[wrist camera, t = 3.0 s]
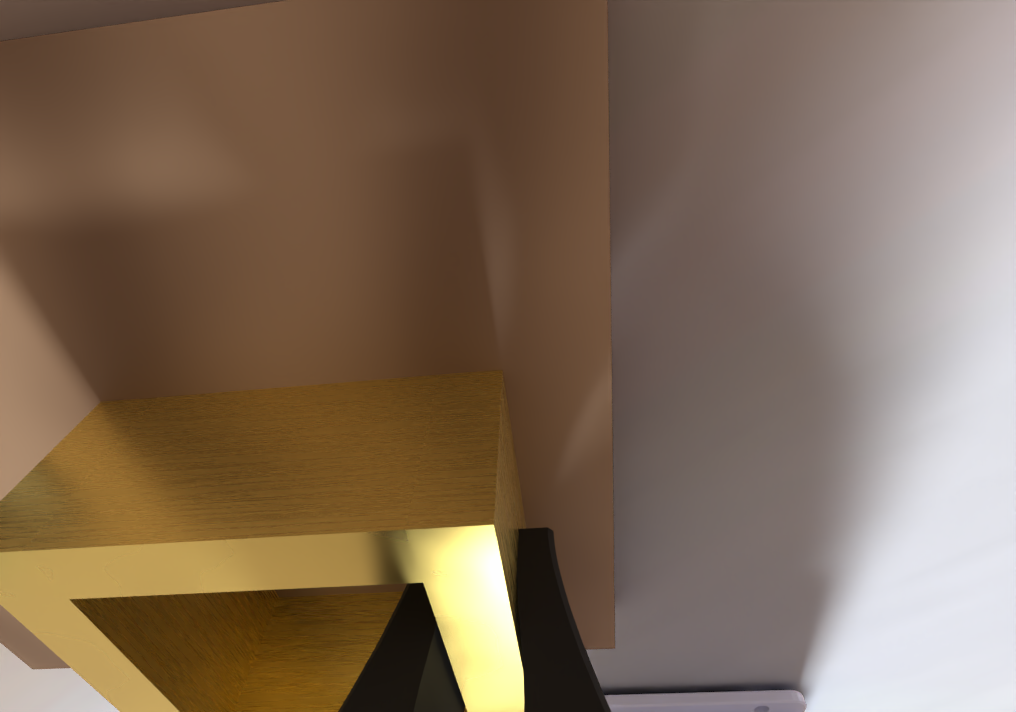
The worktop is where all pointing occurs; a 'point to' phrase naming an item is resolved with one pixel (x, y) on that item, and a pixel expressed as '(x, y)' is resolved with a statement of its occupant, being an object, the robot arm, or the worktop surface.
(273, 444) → the golden square frame
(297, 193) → the board
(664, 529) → the worktop surface
